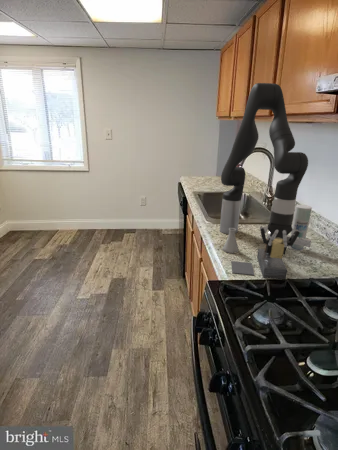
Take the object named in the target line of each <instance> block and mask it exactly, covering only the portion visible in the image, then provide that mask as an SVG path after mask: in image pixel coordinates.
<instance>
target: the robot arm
mask: <svg viewBox="0 0 338 450" xmlns="http://www.w3.org/2000/svg"><path fill="white" fill-rule="evenodd" d="M249 91H250V92H249V94H248V98H247V102H246V106H245V109H244V113H243V117H242V120H241V122H240V125H239V128H238V131H237V133H236V136H235V139H234V142H233V145H232V148H231V151H230V153H229V155H228V158H227V161H226V163H225V165H224V166H223V169H222V171H221V176H220V182H221V184H222V185H223V186H226V187H232V188H231V189H230V190H226V191H224V192H223V194H222V200H221V201H222V202H221V211H220V222H219V223H220V224H219V232H220V233H223V234H227V235H229V228H235V229H236V231H235V234H237V233H238V230H239V222H240V212H241V205H242V197H243V193H244V187H245V181H246V171H245V168H244V167H243V166H238V165H239V164H241V163H242V162H243V161H244V160H245V159H247V158H248V157H249V156H250V155H251V154H252V153H253V152H254V150H255V148H256V145H257V144H258V141H259V132H258V128H257V124H256V121H255V119H256V115H257V112H258V111H261V110H263V111H265V110H267V111H271V112H272V114H273V119H272V120H271V123H270V126H269V128H268V130H269V132H268V133H269V138H270V141H271V144H272V147H273V167H274V169H275V170H276V171H275V172H278V173H279V174H283V175H288V176H287V177H286V178H284V179H281V180H278V181H277V182H276V186H275V190H274V198H273V201H272V206H271V210H270V217H269V223H268V224H267V225H266V226H260V227H259V231H260V234H261V236H260V237H261V240H262V243H263V244H264V245H265V244H267V248H266V252H267V253H268V255H270V253H271V247H272V246H271V245H272V242H273V241H274V239H275V238H278V237H279V238H282V241H283V243H284V244H285V245H284V251H283V256H284V255H286V252H287V248H288V247H289V246H292V245H293V244H294V242H295V240H296V239H297V237H298V235H299V231H298V230H297V229H292V224H293V218H294V213H295V207H296V203H297V201H296V200H297V196H298V195H297V194H298V188H299V186H300V184H301V182H302V180H303V178H304V176H305V174H306V172H307V169H308V167H309V158H308V156H307V155H306V153H304V152H300V151H299V152H298V151H296V152H295V151H294V152H293V151H292V150H293V149H294V148H295V146H296V141H295V137H294V135H293V132H292V130H291V127H290V125H289V122H288V118H287V110H286V104H285V98H284V94H283V90H282V87H281V86H280V85H279V84H277V83H274V82H273V83H270V82H269V83H267V82H258V83H255V84H253V86H252V88H251V90H249ZM267 230H268V231H269V232H270V235H269V238H268V240H267V239H266V238H267V237H266V233H268V231H267ZM291 231H292V233H291ZM289 234H290V236H291V237H290V239H289V241H287V237H286V236H287V235H289ZM291 234H292V235H291Z"/></svg>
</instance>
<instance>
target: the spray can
mask: <svg viewBox="0 0 338 450" xmlns="http://www.w3.org/2000/svg"><path fill="white" fill-rule="evenodd" d="M312 208H313V207H312V206H310V205H307V204H295V211H294V216H293V221H292V229H297V230H298V231H299V235H298V237H300V238H305V239H307V238H306V237H307V233H308V227H309V223H310V219H311V213H312ZM291 233H292V231H291V232H290V236H291V235H292V234H291ZM304 247H305V246H301V245H295V244H293V245H292V246H288V249H289V250H291V251H294V252H303V250H304V249H305V248H304Z"/></svg>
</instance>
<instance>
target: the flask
mask: <svg viewBox="0 0 338 450" xmlns="http://www.w3.org/2000/svg"><path fill="white" fill-rule="evenodd" d="M235 231H236V229H235V228H229V234H227V239H226V241H225V243H224V244H223V246H222V248H221V250H222V251H223V252H225V253H230V254H235V253H239V246H238V242H237V238H236V233H235Z"/></svg>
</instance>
